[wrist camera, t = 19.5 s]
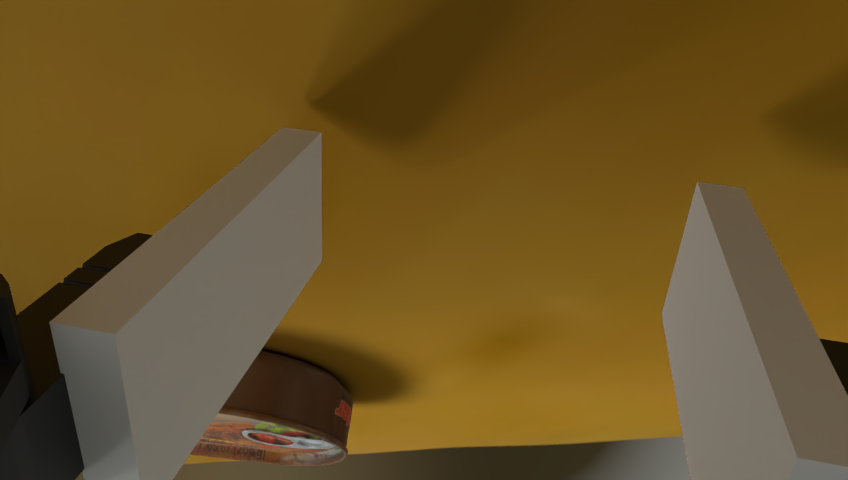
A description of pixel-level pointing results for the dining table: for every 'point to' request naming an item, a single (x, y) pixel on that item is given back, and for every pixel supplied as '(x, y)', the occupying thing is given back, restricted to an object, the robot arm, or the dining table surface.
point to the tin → (281, 416)
